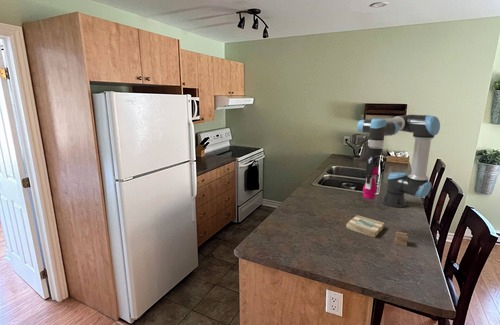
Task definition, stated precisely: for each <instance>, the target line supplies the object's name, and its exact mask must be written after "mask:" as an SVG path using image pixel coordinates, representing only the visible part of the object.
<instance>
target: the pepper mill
mask: <svg viewBox="0 0 500 325" xmlns="http://www.w3.org/2000/svg"><path fill="white" fill-rule="evenodd" d="M376 174H379V168H377V167H375V166H374V168H373V172H372V177H371V178H372V182H371V189H366V188H365V185H366V182H365V183H364V185H363V188H362V191H363V194H362V197H363V198H365V199H367V200H374V199H375V198H376V195H375V194H377V192H378V191H377V190H378V189H377V185H376V182H375V178H377V176H378V175H376Z"/></svg>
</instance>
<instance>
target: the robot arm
mask: <svg viewBox="0 0 500 325" xmlns="http://www.w3.org/2000/svg"><path fill="white" fill-rule="evenodd" d="M356 129H357V131H358V132H359V133H363V134H364V133H365V134H366V133H367V134H368V135H369V136H368V140H367V150H366V154H367V155H369V158H368V159H367V160H366V168H365V175H364V178H365V179H366V180H365V183H366V185H365V184H364V185H365V188H366V189H371V182H372V178H371V177H372V172H373V168H374V166H375V167H377V168H378V169H379V166H380V159H381V156H382V155H383V147H384V141H385V136H386V137H387V136H394V135H396V134H397V133H398V132H406V133H411V134H412V137H413V139H415V140H414V147H413V155H412V163H411V172H410V174H407V173H406V172H397V171H396V172H390V173H388V177H387V183H386V191H385V193H384V195H383V197H382V201H381V202H382V203H383V205H386V206H389V207H392V208H404V207H406V203H407V202H406V198H405V195H406V194H407V195H410V196H413V197H416V198H421V199H422V198H425V197H426V196H428V194H429V193H430V191H431V189H432V182H431V181H429V177H428V176H427V173H428V172H427V171H428V165H429V156H430V149H431V144H432V140H433V139H434V138H435V136H436V135H438V134H439V132H440V130H441V122H440V119H439V117H437V116H436V115H435V116H434V115H429V114H427V115H426V114H405V115H397V116H394V117H391V118H372V119H369V120H368V119H360V120H358V122H357V125H356ZM376 175H377V176H379V173H377V174H376ZM376 178H377V177H376ZM376 178H375V183H376V180H377V179H376Z"/></svg>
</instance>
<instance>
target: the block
mask: <svg viewBox="0 0 500 325" xmlns="http://www.w3.org/2000/svg"><path fill="white" fill-rule="evenodd" d="M408 241H409V236H408V233H407V232H403V231H402V232H401V231H395V237H394V242H395V245H398V246H403V247H408Z"/></svg>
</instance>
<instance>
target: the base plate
mask: <svg viewBox="0 0 500 325" xmlns="http://www.w3.org/2000/svg"><path fill="white" fill-rule="evenodd" d="M384 227H385V222H381V221H379V220H374V219H373V218H372V219H371V218H368V217H364V216H361V215H358V214H357V215H355V216H354V217H353V218H351V219H350V220H349V221H348V222H347V223H346V226H345V228H346V229H347V230H351V231H353V232H356V233H360V234H363V235H366V236H369V237H372V238H376V237H377V235H378V234H379V233H380V232H381V231H382V230H383V229H384Z"/></svg>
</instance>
